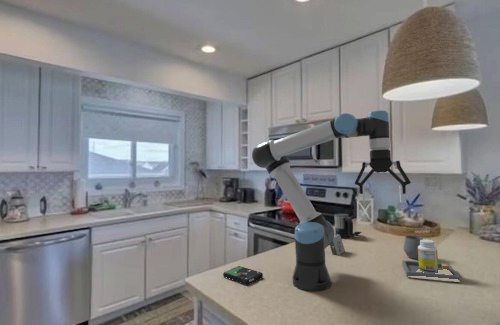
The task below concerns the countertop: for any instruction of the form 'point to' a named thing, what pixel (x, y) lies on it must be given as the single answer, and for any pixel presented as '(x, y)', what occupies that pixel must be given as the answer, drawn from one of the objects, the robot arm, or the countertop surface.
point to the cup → (412, 246)
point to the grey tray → (413, 266)
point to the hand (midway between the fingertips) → (382, 202)
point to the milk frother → (344, 226)
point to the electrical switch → (337, 245)
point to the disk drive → (243, 275)
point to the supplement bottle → (427, 256)
